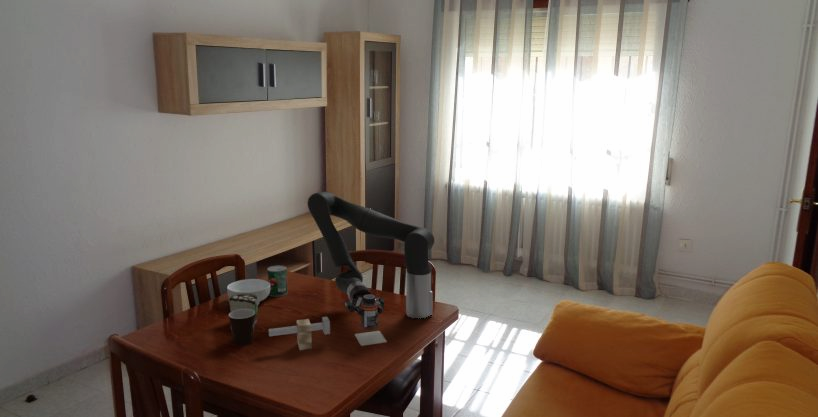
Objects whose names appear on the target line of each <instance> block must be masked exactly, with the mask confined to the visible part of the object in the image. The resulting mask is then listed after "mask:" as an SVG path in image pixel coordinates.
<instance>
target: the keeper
mask: <svg viewBox="0 0 818 417" xmlns="http://www.w3.org/2000/svg"><path fill="white" fill-rule="evenodd" d="M311 324H312V323H311V322H310V318H306V319H305V318H304V319H297V320H296V326H298V333H296V337H297V338H296V339H297V341H296V342H297V346H298V350H299V351H304V350H312V349H313V348H312V347H313V344H312V331H311Z"/></svg>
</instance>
